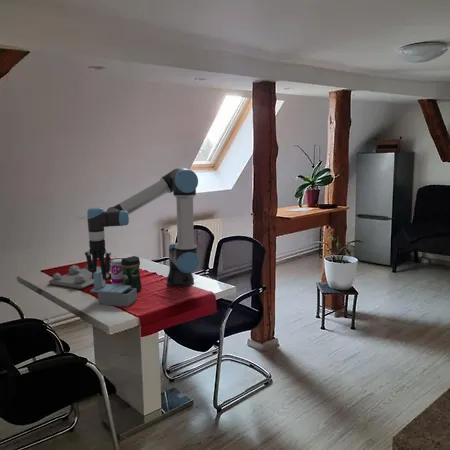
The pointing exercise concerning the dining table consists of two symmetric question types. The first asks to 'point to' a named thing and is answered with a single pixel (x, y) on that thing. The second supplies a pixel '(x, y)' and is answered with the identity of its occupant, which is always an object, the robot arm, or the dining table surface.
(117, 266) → the supplement can
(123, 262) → the coffee jar
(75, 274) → the decorative tray
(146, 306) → the dining table surface
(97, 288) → the pale blue stepped block
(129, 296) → the tub
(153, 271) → the dining table surface
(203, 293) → the dining table surface
